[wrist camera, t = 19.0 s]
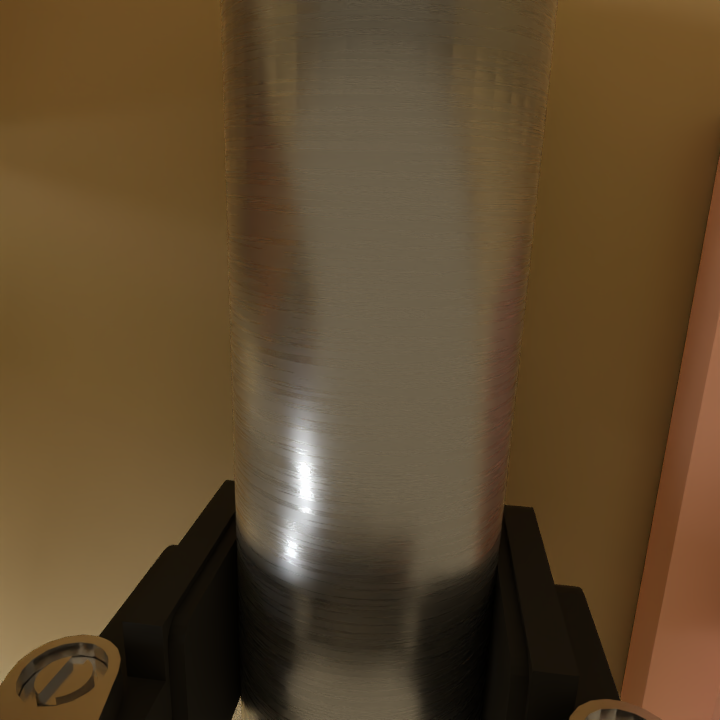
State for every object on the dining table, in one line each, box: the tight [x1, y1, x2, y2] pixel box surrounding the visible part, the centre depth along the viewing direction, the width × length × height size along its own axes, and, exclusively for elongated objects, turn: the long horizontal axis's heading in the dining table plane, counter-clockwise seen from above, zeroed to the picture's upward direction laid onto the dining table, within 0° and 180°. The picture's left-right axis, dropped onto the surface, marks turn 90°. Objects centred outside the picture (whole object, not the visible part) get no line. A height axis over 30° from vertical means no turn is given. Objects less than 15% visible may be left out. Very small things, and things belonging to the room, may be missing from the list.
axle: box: [221, 0, 558, 720], centre depth 10 cm, size 20×4×4 cm, turn 178°
